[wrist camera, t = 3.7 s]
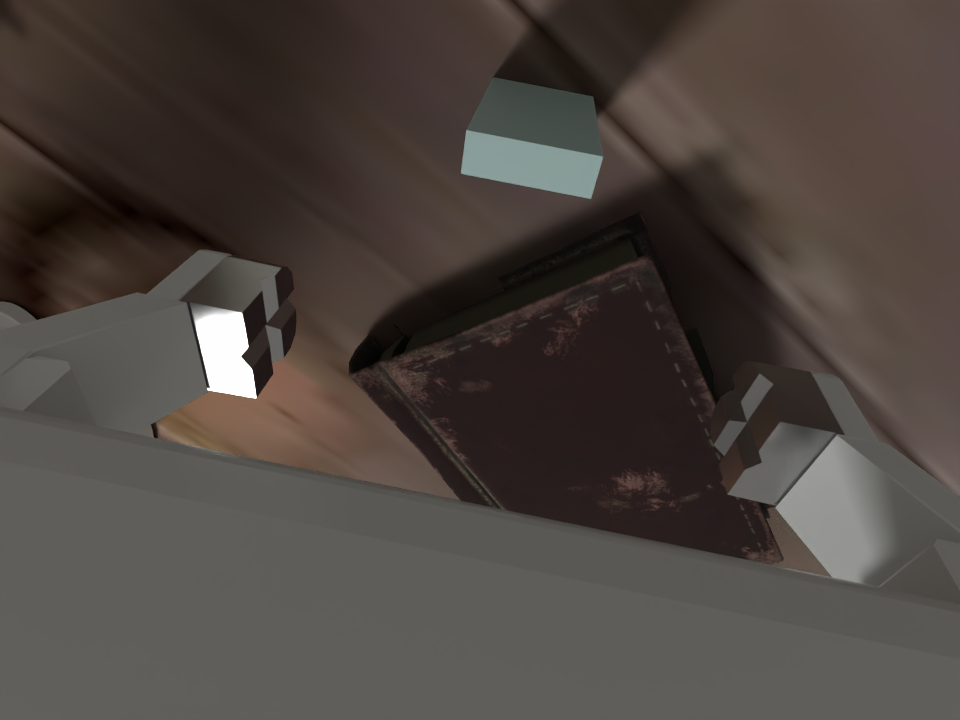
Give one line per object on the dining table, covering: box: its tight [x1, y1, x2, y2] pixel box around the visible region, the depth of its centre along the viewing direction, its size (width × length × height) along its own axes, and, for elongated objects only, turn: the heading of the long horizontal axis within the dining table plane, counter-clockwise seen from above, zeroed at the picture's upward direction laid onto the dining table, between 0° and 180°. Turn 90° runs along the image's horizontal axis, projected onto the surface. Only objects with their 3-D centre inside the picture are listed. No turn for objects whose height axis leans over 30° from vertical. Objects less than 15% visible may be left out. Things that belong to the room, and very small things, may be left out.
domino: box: [461, 77, 603, 199], centre depth 20 cm, size 4×1×8 cm, turn 81°
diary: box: [349, 212, 784, 565], centre depth 34 cm, size 19×25×5 cm
